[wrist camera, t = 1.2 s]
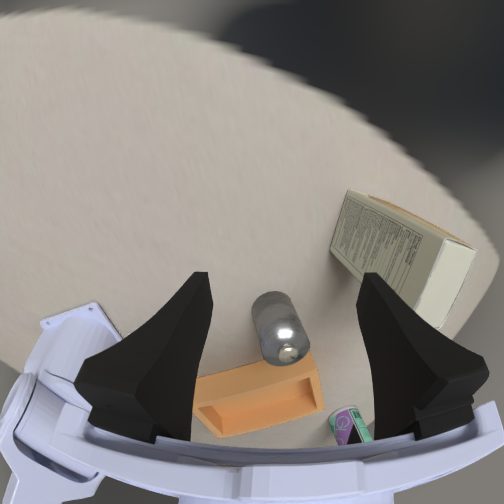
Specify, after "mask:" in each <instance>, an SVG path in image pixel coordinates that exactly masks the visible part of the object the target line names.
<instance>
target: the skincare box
mask: <svg viewBox="0 0 504 504" xmlns="http://www.w3.org/2000/svg"><path fill="white" fill-rule="evenodd" d="M330 251H331V253H333V254H334V256H335V257H336V258H337V259H338V260H339V261H340V262H341V263H342V264H343V265H344V266H345V267H346V268H347V269H348V270H349V271H350V272H351V273H352V274H353V275H354V277H355V278H356V279H357V280H358V281H359V282H360V283H361V284H362V280H363V276H364V273H366V272H377V273H378V274H379V275H380V276H381V277H382V278H383V280H384V281H385V282H386V283H387V284H388V285H389V286H390V287H391V288H392V289H393V290H394V291H395V292H396V293H397V294H398V295H399V296H400V297H401V299H402V300H403V301H404V302H405V303H406V304H407V305H408V306H409V307H410V308H412V309H413V310H414V311H415V312H416V313H417V314H418V315H419V316H420V317H421V318H422V319H424V320H425V321H426V322H427V323H428V324H430V325H431V326H432V327H433V328H435V329H439V328H441V327H442V325H443V323H444V322H445V320H446V318H447V317H448V315H449V313H450V311H451V309H452V307H453V306H454V303H455V302H456V300H457V297H458V295H459V294H460V291H461V289H462V287H463V285H464V283H465V280H466V278H467V276H468V274H469V271H470V269H471V266H472V264H473V261H474V259H475V256H476V254H477V249H476V248H474V247H472V246H471V245H469V244H467V243H465V242H464V241H462V240H460V239H459V238H457V237H455V236H453V235H452V234H450V233H448V232H446V231H445V230H443V229H441V228H439V227H437V226H436V225H434V224H432V223H430V222H428V221H426V220H424V219H422V218H420V217H418V216H416V215H414V214H412V213H410V212H408V211H406V210H404V209H402V208H400V207H398V206H396V205H394V204H392V203H390V202H388V201H386V200H383V199H381V198H378V197H375V196H373V195H370V194H367V193H364V192H360V191H357V190H354V189H349V190H348V192H347V195H346V198H345V201H344V204H343V207H342V211H341V214H340V217H339V221H338V224H337V227H336V231H335V234H334V237H333V241H332V244H331V248H330Z"/></svg>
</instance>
